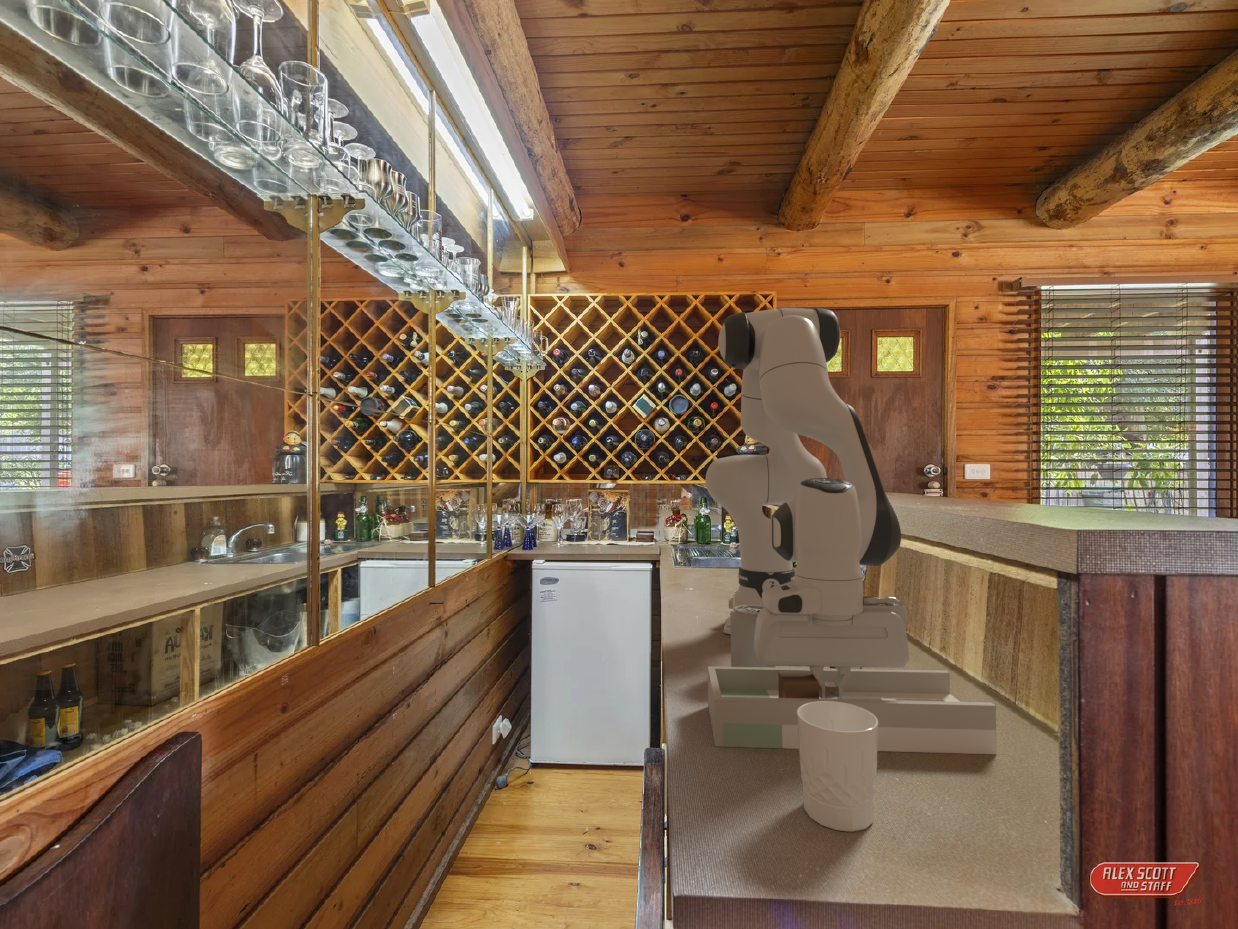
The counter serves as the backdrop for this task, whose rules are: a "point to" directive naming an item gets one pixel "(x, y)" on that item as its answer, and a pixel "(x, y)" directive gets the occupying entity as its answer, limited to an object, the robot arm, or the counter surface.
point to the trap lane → (899, 699)
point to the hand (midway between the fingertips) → (830, 697)
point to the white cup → (838, 763)
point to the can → (744, 636)
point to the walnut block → (798, 685)
